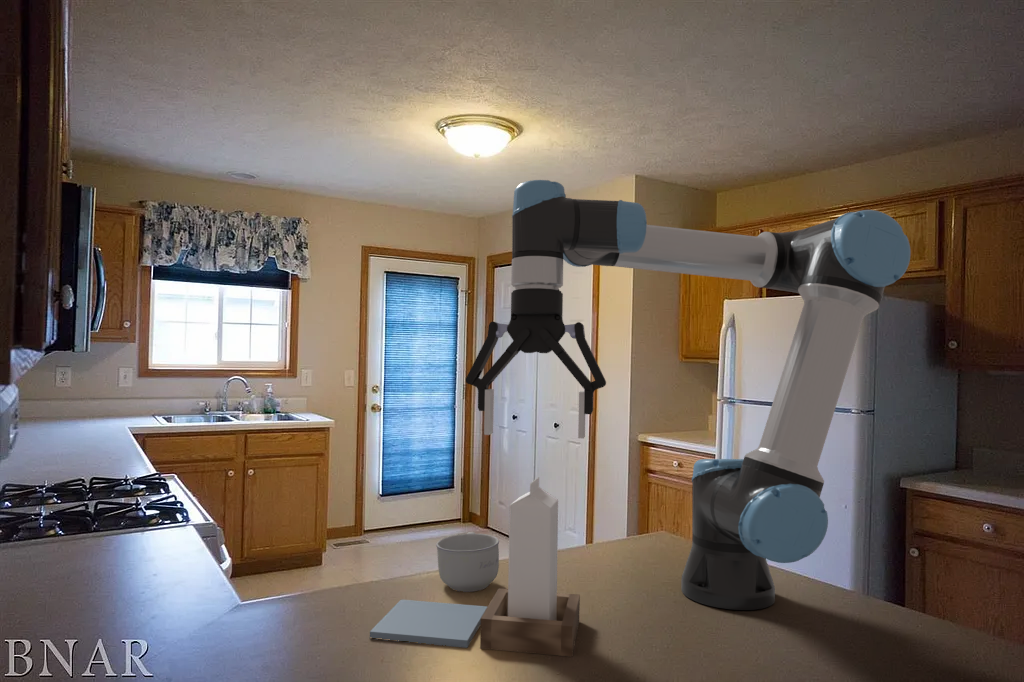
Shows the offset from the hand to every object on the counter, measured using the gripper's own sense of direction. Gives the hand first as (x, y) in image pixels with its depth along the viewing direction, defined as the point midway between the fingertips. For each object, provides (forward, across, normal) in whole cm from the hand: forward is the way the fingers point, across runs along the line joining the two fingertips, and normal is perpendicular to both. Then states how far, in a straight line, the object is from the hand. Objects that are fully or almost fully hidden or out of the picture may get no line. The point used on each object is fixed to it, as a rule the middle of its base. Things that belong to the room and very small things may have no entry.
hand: (534, 435), depth 98 cm
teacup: (+29, +14, -19) cm, 37 cm away
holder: (+28, 0, 0) cm, 28 cm away
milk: (+28, 0, 0) cm, 29 cm away
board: (+28, +15, 0) cm, 32 cm away
